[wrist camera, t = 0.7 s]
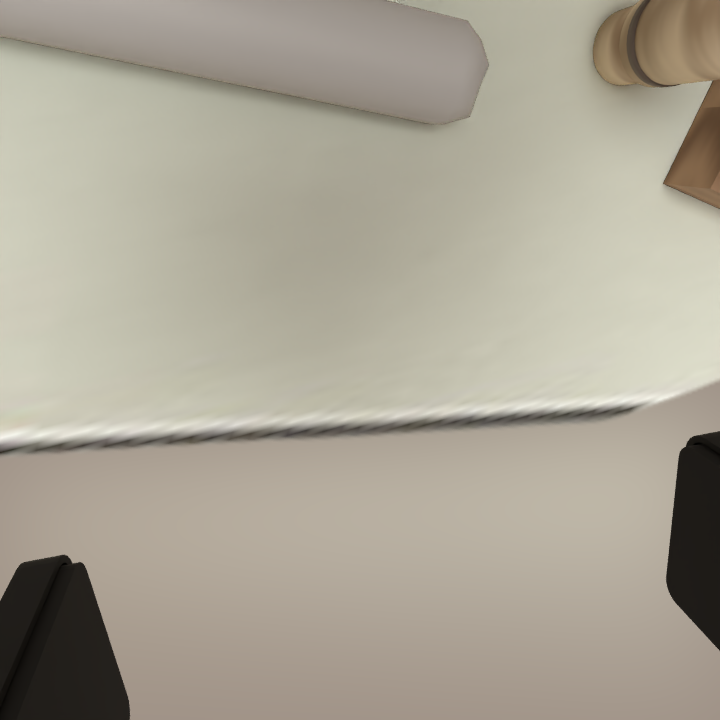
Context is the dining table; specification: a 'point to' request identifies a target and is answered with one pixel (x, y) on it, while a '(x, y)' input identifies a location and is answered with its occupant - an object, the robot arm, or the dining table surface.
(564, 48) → the dining table surface
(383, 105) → the tube
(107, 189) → the dining table surface
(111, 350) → the dining table surface
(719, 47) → the peg
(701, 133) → the board
